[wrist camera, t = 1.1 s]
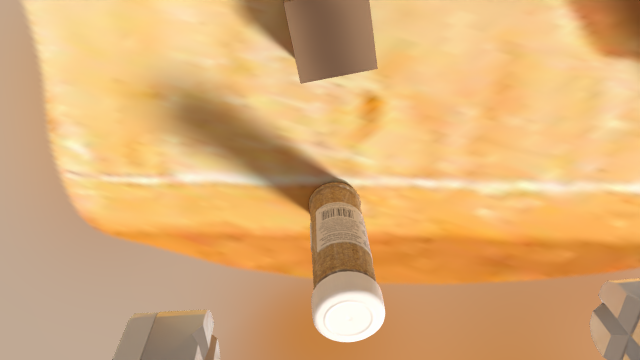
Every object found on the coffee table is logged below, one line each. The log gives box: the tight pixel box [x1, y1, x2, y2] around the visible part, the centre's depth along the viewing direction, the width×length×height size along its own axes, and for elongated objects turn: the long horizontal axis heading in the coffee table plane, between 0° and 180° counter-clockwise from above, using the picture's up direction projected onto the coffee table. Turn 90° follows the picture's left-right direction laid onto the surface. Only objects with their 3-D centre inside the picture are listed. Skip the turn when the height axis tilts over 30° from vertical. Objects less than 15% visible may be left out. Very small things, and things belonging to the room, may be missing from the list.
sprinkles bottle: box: [309, 182, 385, 342], centre depth 34 cm, size 5×5×14 cm
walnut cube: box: [283, 0, 378, 83], centre depth 30 cm, size 5×5×5 cm
